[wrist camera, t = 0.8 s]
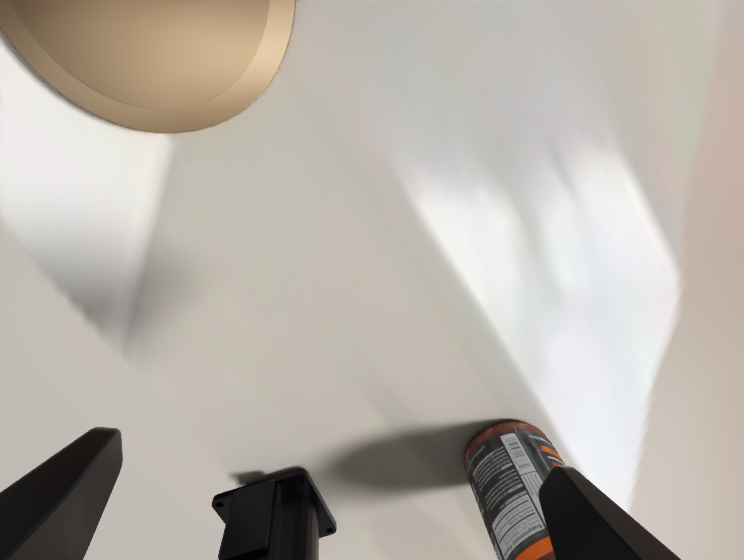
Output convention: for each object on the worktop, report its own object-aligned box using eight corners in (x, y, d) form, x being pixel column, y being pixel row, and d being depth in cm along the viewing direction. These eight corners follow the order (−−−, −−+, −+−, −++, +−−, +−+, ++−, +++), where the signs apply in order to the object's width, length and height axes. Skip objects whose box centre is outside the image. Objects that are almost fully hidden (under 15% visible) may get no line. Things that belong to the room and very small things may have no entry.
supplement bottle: (560, 448, 27) (702, 656, 17) (491, 492, 28) (584, 713, 18) (517, 401, 25) (649, 609, 15) (443, 451, 26) (519, 676, 16)
